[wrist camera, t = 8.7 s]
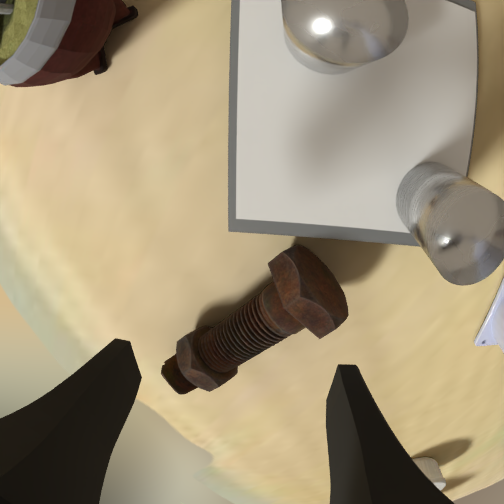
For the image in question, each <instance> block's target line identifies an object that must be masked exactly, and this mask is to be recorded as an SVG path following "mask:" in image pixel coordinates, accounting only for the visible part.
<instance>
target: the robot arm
mask: <svg viewBox="0 0 504 504" xmlns="http://www.w3.org/2000/svg"><path fill="white" fill-rule="evenodd" d="M474 343H475V345H476V346H486V345H497V344H498V345H499V346H500V348H501V350H502V351H503V353H504V278H503V280H502V283H501V285H500V288H499V290H498V292H497V295H496V297H495V299H494V302H493V304H492V306H491V308H490V310H489V312H488V314H487V317H486V319H485V321H484V323H483V325H482V327H481V329H480V331H479V333H478V335H477V336H476V338H475V340H474ZM141 378H142V377H141V374H140V371H139V368H138V365H137V362H136V359H135V356H134V353H133V349H132V346H131V343H130V341H126V340H121V339H114V340H113V341H112V342H111V343H109V344H108V345H107V346H106V347H105V348H103V349H102V350H101V351H100V352H99V353H98V354H96V355H95V356H94V357H93V358H92V359H90V360H89V361H88V362H87V363H86V364H85V365H83V366H82V367H81V368H80V369H78V370H77V371H76V372H75V373H74V374H72V375H71V376H70V377H68V378H67V379H66V380H64V381H63V382H62V383H61V384H59V385H58V386H57V387H55V388H54V389H53V390H51V391H50V392H48V393H47V394H45V395H44V396H42V397H41V398H39V399H37V400H36V401H34V402H33V403H31V404H29V405H27V406H25V407H23V408H21V409H20V410H17V411H16V412H14V413H12V414H10V415H7V416H5V417H3V418H0V504H99V501H100V495H101V490H102V486H103V482H104V478H105V474H106V470H107V467H108V463H109V460H110V456H111V453H112V451H113V448H114V446H115V443H116V441H117V439H118V437H119V434H120V432H121V430H122V428H123V426H124V423H125V421H126V419H127V417H128V415H129V413H130V410H131V408H132V406H133V404H134V401H135V398H136V395H137V392H138V389H139V385H140V382H141ZM326 431H327V443H328V454H329V466H330V480H331V493H330V504H454V503H453V502H452V501H451V500H450V499H449V498H448V497H447V496H445V495H444V494H443V493H442V492H441V491H440V490H439V489H438V488H437V487H436V486H435V485H434V484H433V483H432V482H431V480H430V479H429V478H428V477H427V476H426V475H425V474H424V473H423V472H422V471H421V470H420V468H419V467H418V466H417V465H416V464H415V462H414V461H413V460H412V458H411V457H410V456H409V455H408V453H407V452H406V451H405V449H404V448H403V446H402V445H401V444H400V442H399V441H398V439H397V438H396V436H395V434H394V433H393V431H392V430H391V428H390V427H389V425H388V423H387V422H386V420H385V418H384V417H383V415H382V413H381V411H380V410H379V408H378V406H377V404H376V403H375V401H374V399H373V397H372V395H371V393H370V391H369V389H368V387H367V385H366V383H365V381H364V379H363V377H362V375H361V373H360V371H359V369H358V367H357V366H356V365H342V364H338V366H337V369H336V373H335V376H334V379H333V382H332V385H331V388H330V391H329V394H328V397H327V400H326Z"/></svg>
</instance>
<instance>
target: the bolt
mask: <svg viewBox="0 0 504 504" xmlns="http://www.w3.org/2000/svg"><path fill="white" fill-rule="evenodd" d="M268 265H269V268H270V271H271V274H272V277H273V280H274V281H273V282H272V283H271V284H269V285H268V286H267V287H265V288H264V290H263V291H262V293H260V294H259V295H257V296H255V297H254V298H253V299H251V300H250V301H249V302H247V304H245V305H244V306H242V307H241V308H240V309H238V310H237V311H236V312H234V313H233V314H231V315H230V316H229V317H227V318H226V319H224V320H223V321H222V322H220V323H219V324H218V325H216V326H215V327H213V328H210V327H207V326H203V327H201V328H199V329H197V330H195V331H193V332H191V333H189V334H187V335H185V336H184V337H183V338H181V339H180V340H179V341H177V348H176V354H175V355H174V356H172V357H171V358H169V359H168V360H166V361H165V362H164V363H165V365H163V366H162V370H161V374H162V376H163V377H164V379H165V380H166V381H167V382H168V384H169V385H170V386H171V387H172V388H173V389H174V391H175V392H177V393H178V394H186V393H188V392H190V391H192V390H194V389H196V388H198V387H199V388H201V389H204V390H206V391H209V392H210V391H212V390H214V389H216V388H218V387H220V386H221V385H223V384H224V383H226V382H227V381H229V380H230V379H231V378H233V377H234V376H235V375H236V374H237V371H238V366H239V365H240V364H242V363H244V362H246V361H247V360H249V359H251V358H253V357H254V356H256V355H258V354H260V353H261V352H263V351H264V350H266V349H268V348H270V347H271V346H274V345H275V344H277V343H279V342H280V341H282V340H283V339H285V338H287V337H288V336H290V335H292V334H296V333H298V332H299V331H301V330H302V329H304V328H307V329H308V330H310V331H311V332H312V333H313V334H314V335H315V336H317V337H318V338H319V339H321V338H322V337H324V336H326V335H327V334H329V333H330V332H332V331H334V330H335V329H337V328H338V327H339V326H340V325H341V324H342V323H343V322H344V321H345V320H346V319H347V317H348V306H347V302H346V297H345V295H344V292H343V290H342V288H341V287H340V285H339V284H338V282H337V280H336V279H335V277H334V276H333V274H332V273H331V271H330V270H329V269H328V267H327V266H326V265H325V264H324V263H323V262H322V261H321V260H320V259H319V258H318V257H317V256H316V255H315V254H314V253H313V252H311V251H310V250H308V249H306V248H304V247H302V246H300V245H297V246H293V247H291V248H289V249H287V250H285V251H283V252H281V253H280V254H279V255H278V256H276V257H275V258H274V259H273V260H271V261H270V262H269V263H268Z"/></svg>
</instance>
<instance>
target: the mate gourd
mask: <svg viewBox="0 0 504 504" xmlns="http://www.w3.org/2000/svg"><path fill="white" fill-rule="evenodd" d="M137 16H138V12H137V9H136V8H135V7H134V6H131V7H128V8H127V7H126V5H125V4H124V2H123V1H122V0H0V83H1V84H3V85H11V86H15V87H31V86H42V85H48V84H53V83H56V82H59V81H63V80H66V79H72V78H78V77H80V76H82V75H85V74H87V73H89V72H91V71H93V70H94V73H95V75H97V74H101V73H103V72H105V71H106V70H107V62H106V57H105V51H104V46H103V45H104V43H105V41H106V40H107V38H108V36H109V34H110V33H111V29H113V28H115V27H117V26H119V25H121V24H124V23H126V22H128V21H130V20H132V19H134V18H136V17H137Z"/></svg>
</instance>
